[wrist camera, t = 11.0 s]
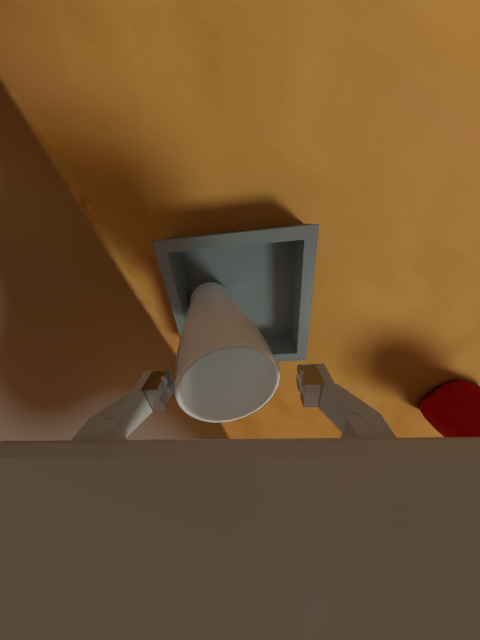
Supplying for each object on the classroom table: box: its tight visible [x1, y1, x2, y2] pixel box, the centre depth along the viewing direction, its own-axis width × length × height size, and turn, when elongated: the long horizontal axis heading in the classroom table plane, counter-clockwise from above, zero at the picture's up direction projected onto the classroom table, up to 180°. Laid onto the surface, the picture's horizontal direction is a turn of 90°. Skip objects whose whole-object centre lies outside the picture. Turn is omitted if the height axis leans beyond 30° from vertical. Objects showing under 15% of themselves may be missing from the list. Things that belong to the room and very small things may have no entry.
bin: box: [152, 224, 319, 361], centre depth 23 cm, size 16×16×5 cm
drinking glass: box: [174, 282, 280, 422], centre depth 18 cm, size 7×7×15 cm
